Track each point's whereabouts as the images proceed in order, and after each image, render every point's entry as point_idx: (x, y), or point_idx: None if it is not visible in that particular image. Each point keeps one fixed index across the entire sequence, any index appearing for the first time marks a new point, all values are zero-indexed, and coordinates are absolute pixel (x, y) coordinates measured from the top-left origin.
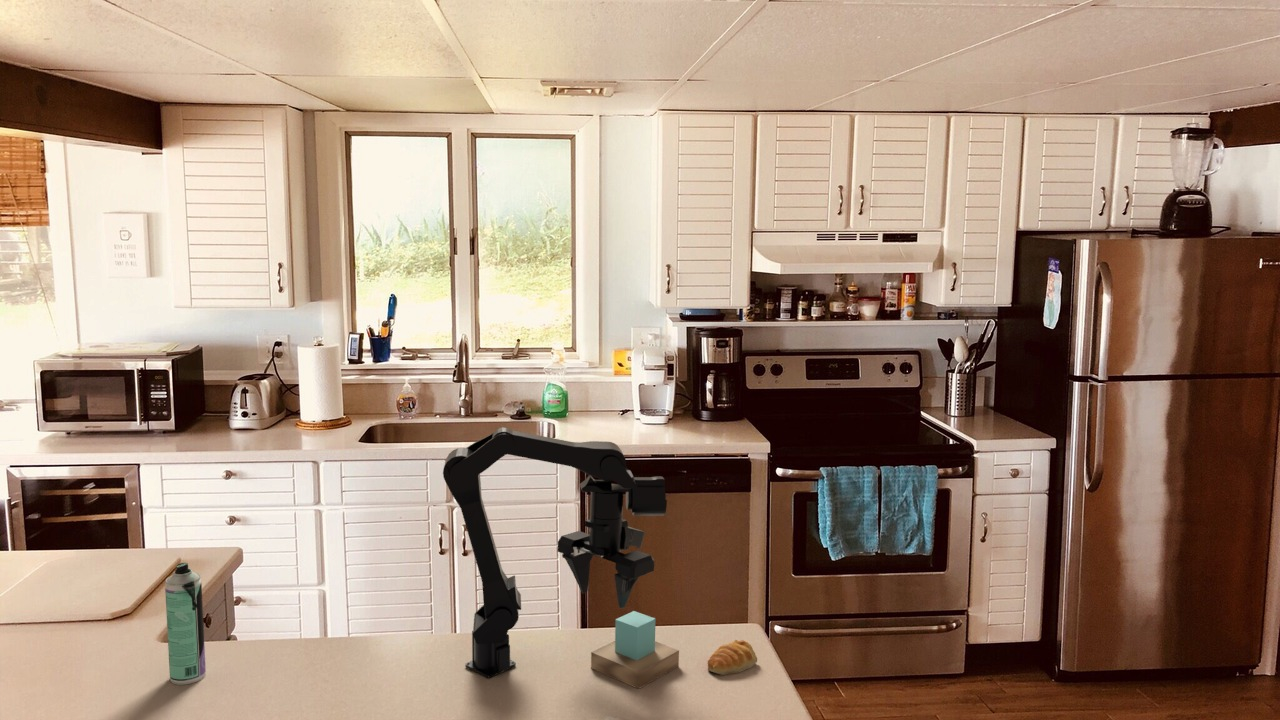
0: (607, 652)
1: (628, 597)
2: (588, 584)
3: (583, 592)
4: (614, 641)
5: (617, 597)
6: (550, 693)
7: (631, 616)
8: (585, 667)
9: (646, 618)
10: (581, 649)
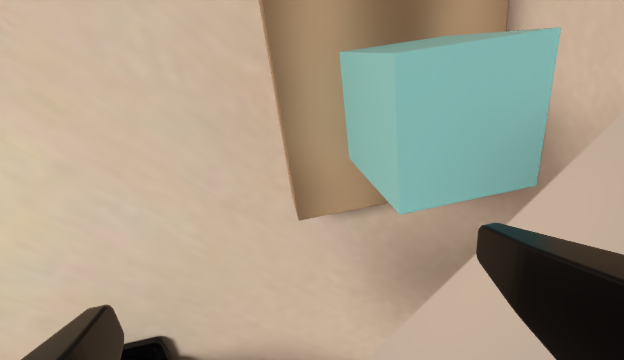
0: (335, 181)
1: (578, 245)
2: (72, 343)
3: (121, 341)
4: (283, 107)
5: (548, 345)
6: (329, 324)
7: (438, 124)
8: (277, 205)
9: (518, 71)
10: (161, 148)
